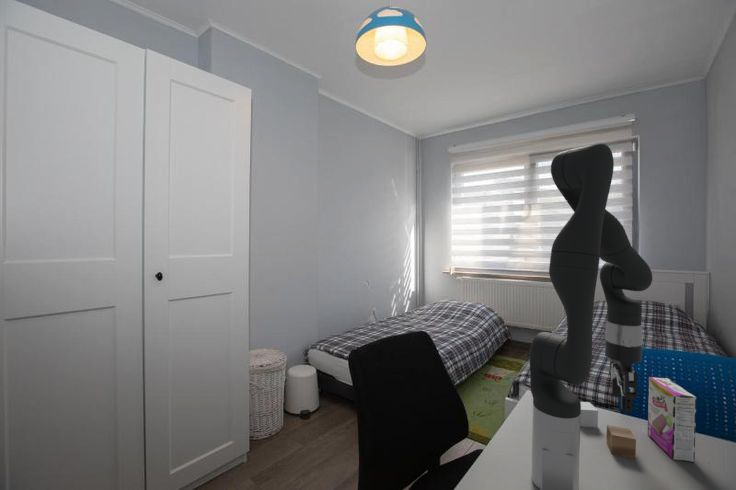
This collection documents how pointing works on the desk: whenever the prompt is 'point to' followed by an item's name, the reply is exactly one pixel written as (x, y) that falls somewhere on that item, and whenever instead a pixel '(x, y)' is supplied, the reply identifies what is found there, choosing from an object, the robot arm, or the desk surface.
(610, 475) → the desk surface
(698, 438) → the desk surface
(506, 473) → the desk surface
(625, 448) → the walnut block
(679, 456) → the candy bar box
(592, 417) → the grey block
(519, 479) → the desk surface
